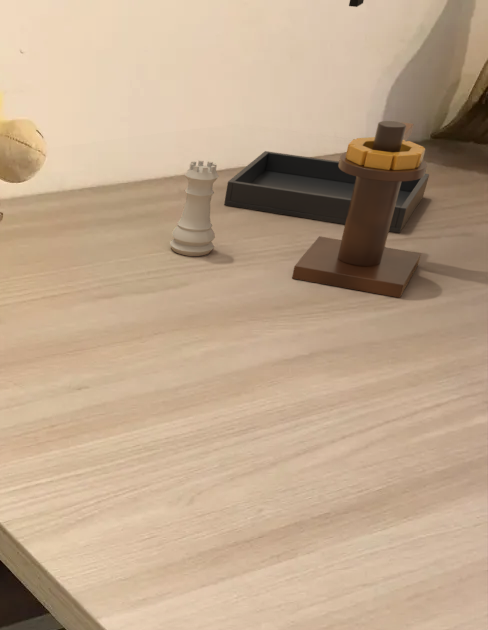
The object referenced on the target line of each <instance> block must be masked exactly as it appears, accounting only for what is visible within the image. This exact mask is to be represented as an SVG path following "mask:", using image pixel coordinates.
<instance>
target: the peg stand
mask: <svg viewBox="0 0 488 630" xmlns="http://www.w3.org/2000/svg"><path fill="white" fill-rule="evenodd" d="M403 123H404V122H403ZM403 123H401V121H395V120H383V121H379V122H378V123H377V127H376V129H375V130H376V131H375V135H374V137H375V139H374V143H373V147H372V150H378V151H385V152H400V149H401V145H402V141H403V137H404V133H405V129H406V125H405V124H403ZM346 153H347V151H346V152H344V153H342V154H340V156H339V160H338V161H339V164H338V167H339V168H340V170H342V171H343V172H345V173H348V174H350V175H353V176H356V180H355V184H354V189H353V193H352V197H351V202H350V206H349V210H348V215H347V219H346V223H345V224H344V228H343V233H342V236H341V239H340V238H339V239H338V238H332V237H326V236H318V238H316V240H314V242H313V243H312V244H311V246H310V247H309V248H308V249H307V250H306V251H305V253H304V254H303V255H302V256H301V257H300V259H299V260H298V261H297V262H296V264H295V265H294V266H293V271H292V276H291V279H294V280H300V281H306V282H311V283H315V284H321V285H327V286H332V287H339V288H344V289H349V290H354V291H359V292H366V293H371V294H377V295H381V296H388V297H392V298H397V299H399V298H401V296H402V295H403V293H404V291H405V289H406V288H407V286H408V285H409V283H410V281H411V279H412V277H413V275H414V273H415V271H416V270H417V268H418V266H419V263H420V259H421V256H422V253H421V252H417V251H412V250H405V249H398V248H392V247H388V246H387V247H386V244H387V240H388V235H389V233H390V232H389V228H390V224H391V221H392V217H393V213H394V209H395V205H396V201H397V197H398V194H399V190H400V186H401V182H402V181H412V180H417V179H420V178H422V177H423V176H424V175H425V174H426V171H427V168H428V163H427V162H426V161H425V160H424V159H423V160H422V163H421V164H420V165H419V167H418V168H415V169H406V170H392V169H390V170H384V169H376V168H369V167H364V165H362V166H360V165H358V164H356V163H353V162H351V161H349V160H347V158H346Z"/></svg>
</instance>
